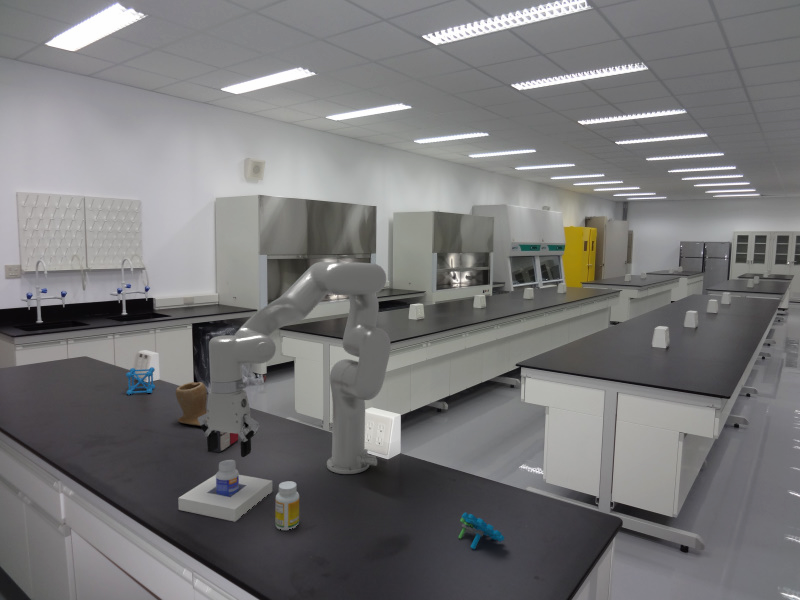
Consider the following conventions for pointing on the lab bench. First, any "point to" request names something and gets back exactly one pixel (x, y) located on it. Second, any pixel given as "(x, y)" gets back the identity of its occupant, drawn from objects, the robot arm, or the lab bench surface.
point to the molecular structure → (140, 380)
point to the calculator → (225, 440)
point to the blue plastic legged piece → (478, 529)
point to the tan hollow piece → (192, 402)
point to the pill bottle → (227, 479)
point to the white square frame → (225, 498)
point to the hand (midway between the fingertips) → (229, 452)
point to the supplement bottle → (287, 506)
